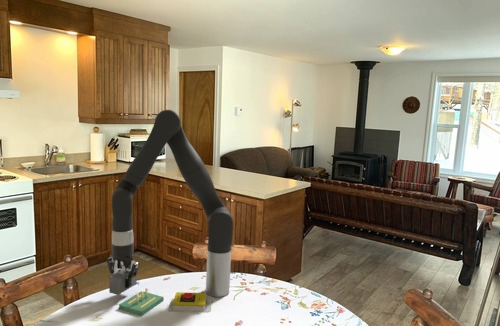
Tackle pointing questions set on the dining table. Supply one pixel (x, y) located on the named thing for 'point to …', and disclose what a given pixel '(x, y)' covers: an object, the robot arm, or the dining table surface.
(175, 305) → the emergency button
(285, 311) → the dining table surface
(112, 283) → the block
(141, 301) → the header board
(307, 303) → the dining table surface
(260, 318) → the dining table surface
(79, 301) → the dining table surface
